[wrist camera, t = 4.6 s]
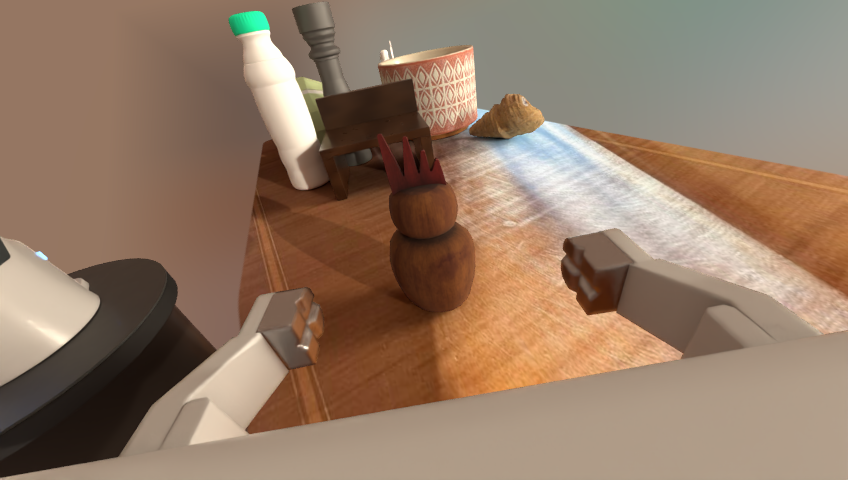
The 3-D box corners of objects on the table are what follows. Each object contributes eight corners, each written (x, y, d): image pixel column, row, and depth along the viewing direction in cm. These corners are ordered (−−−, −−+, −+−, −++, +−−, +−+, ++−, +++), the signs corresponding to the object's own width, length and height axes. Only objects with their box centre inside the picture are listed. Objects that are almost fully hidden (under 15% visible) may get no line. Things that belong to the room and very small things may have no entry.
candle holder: (378, 154, 62) (338, 0, 48) (359, 167, 58) (309, 2, 44) (355, 153, 65) (311, 8, 51) (335, 165, 61) (281, 11, 47)
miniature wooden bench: (337, 200, 48) (305, 114, 40) (341, 172, 57) (315, 98, 50) (437, 178, 48) (423, 88, 41) (424, 153, 58) (411, 78, 51)
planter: (436, 149, 59) (424, 62, 50) (377, 139, 71) (359, 67, 63) (495, 119, 68) (492, 41, 60) (433, 114, 81) (424, 49, 72)
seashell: (479, 157, 63) (466, 152, 56) (469, 120, 63) (454, 110, 56) (548, 131, 57) (543, 121, 50) (537, 88, 57) (530, 73, 50)
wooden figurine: (394, 316, 27) (338, 148, 18) (416, 271, 31) (379, 118, 22) (471, 328, 24) (449, 142, 16) (483, 278, 29) (471, 110, 20)
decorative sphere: (357, 148, 68) (335, 72, 59) (289, 168, 64) (255, 91, 56) (344, 134, 79) (324, 69, 71) (286, 150, 76) (257, 84, 67)
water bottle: (339, 173, 57) (282, 7, 43) (319, 191, 52) (246, 8, 37) (308, 174, 59) (243, 17, 45) (286, 192, 54) (204, 19, 40)
